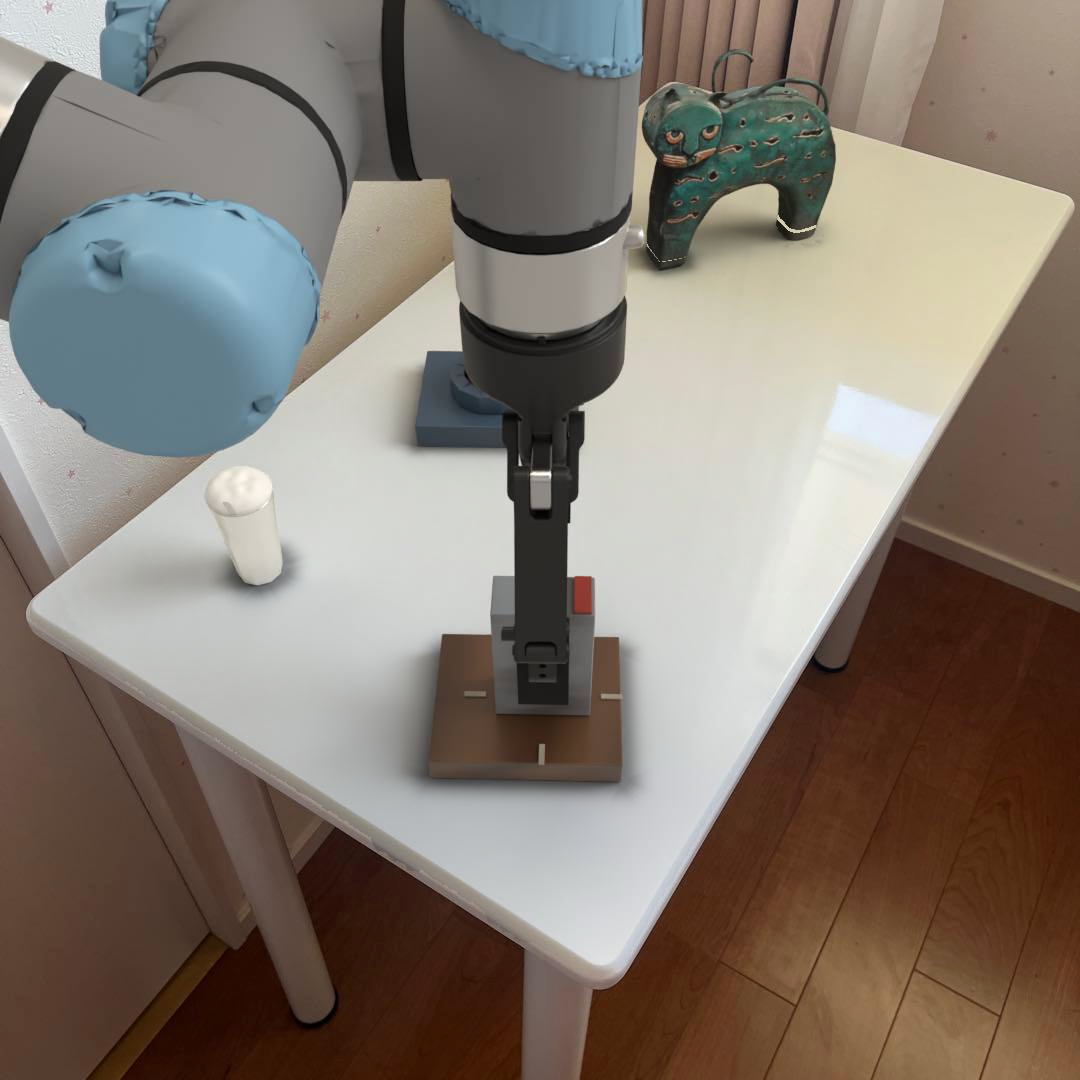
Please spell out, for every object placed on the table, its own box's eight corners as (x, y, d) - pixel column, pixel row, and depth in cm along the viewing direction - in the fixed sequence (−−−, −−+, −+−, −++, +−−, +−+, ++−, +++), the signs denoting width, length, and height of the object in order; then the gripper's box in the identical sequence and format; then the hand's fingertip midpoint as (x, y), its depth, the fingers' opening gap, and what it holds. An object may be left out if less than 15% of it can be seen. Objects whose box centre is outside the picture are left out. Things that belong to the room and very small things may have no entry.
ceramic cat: (647, 280, 107) (663, 75, 92) (622, 245, 111) (633, 44, 97) (829, 243, 111) (871, 42, 97) (798, 211, 116) (834, 14, 101)
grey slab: (495, 714, 70) (489, 611, 63) (498, 675, 72) (492, 572, 65) (590, 716, 70) (595, 613, 63) (589, 677, 72) (595, 574, 65)
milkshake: (222, 602, 79) (190, 503, 72) (234, 547, 83) (204, 448, 76) (286, 600, 79) (260, 501, 72) (295, 545, 83) (271, 446, 76)
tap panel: (429, 779, 69) (427, 761, 68) (444, 650, 76) (441, 630, 75) (622, 783, 69) (624, 765, 67) (619, 653, 76) (620, 634, 74)
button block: (417, 446, 91) (413, 408, 88) (429, 370, 97) (425, 333, 95) (563, 448, 90) (564, 411, 87) (564, 372, 97) (565, 335, 94)
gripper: (637, 491, 40) (615, 793, 56) (621, 155, 57) (607, 457, 73) (432, 489, 40) (466, 790, 56) (476, 155, 57) (493, 456, 73)
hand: (546, 603), depth 64 cm, fingers open, 13 cm apart
